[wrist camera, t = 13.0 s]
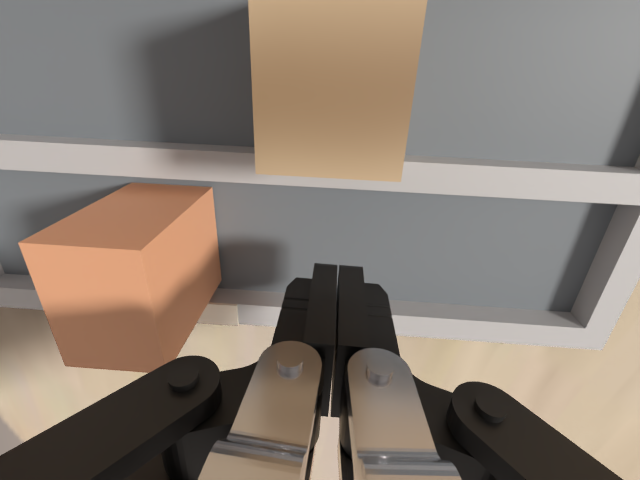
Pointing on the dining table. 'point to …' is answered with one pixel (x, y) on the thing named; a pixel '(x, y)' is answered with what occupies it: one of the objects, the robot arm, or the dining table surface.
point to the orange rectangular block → (127, 275)
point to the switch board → (347, 194)
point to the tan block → (333, 86)
